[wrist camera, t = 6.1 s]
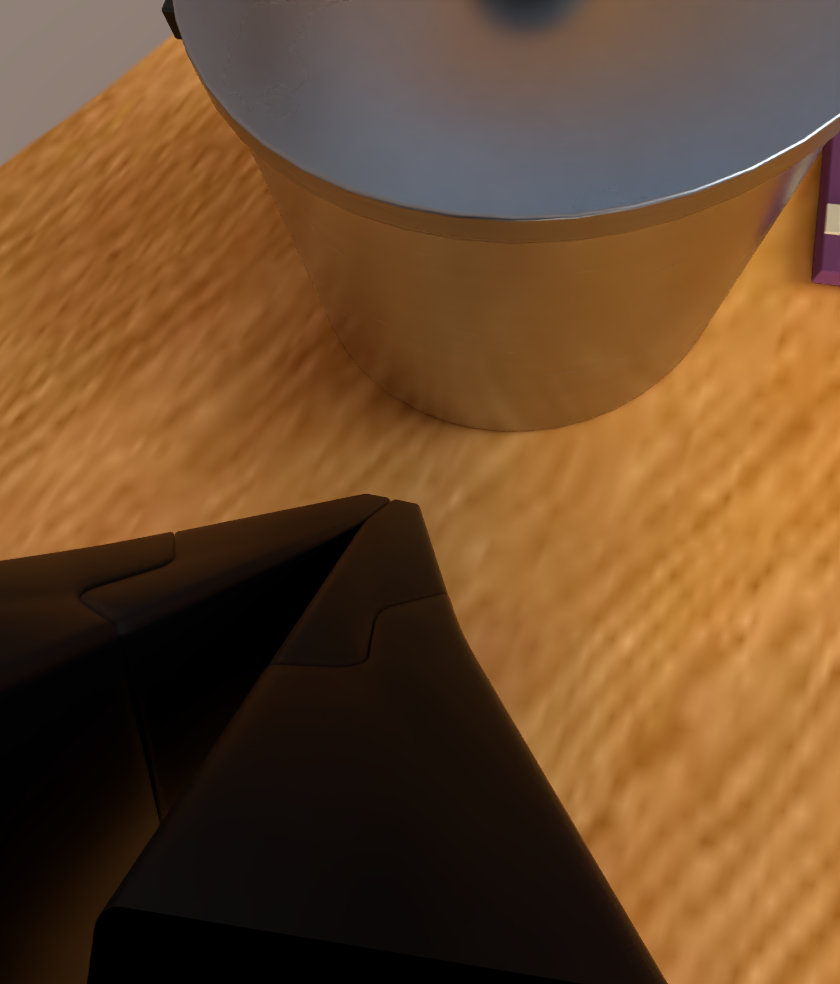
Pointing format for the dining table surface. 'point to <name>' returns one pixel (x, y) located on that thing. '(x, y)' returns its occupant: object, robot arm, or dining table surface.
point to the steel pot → (522, 177)
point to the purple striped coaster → (828, 218)
